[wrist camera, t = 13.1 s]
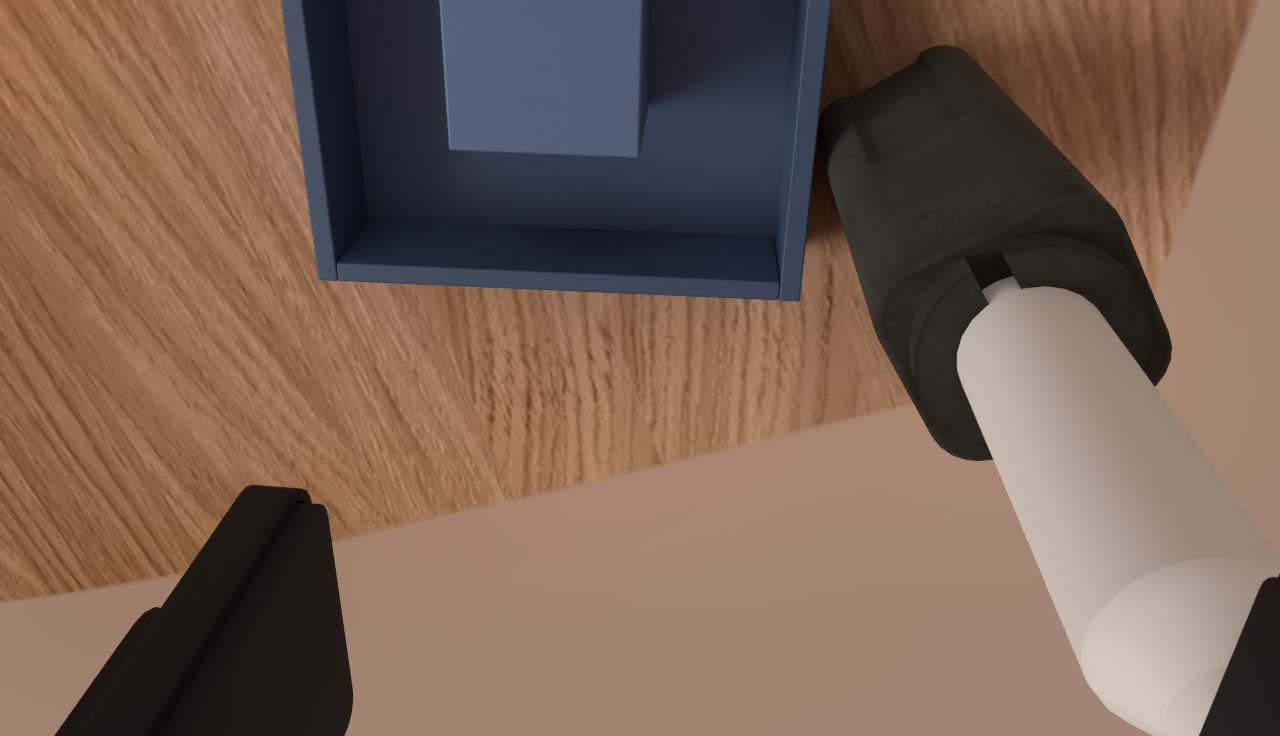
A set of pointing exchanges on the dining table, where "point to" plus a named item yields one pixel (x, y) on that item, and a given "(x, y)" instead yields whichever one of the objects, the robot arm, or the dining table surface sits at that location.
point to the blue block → (547, 75)
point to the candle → (1046, 376)
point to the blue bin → (564, 159)
